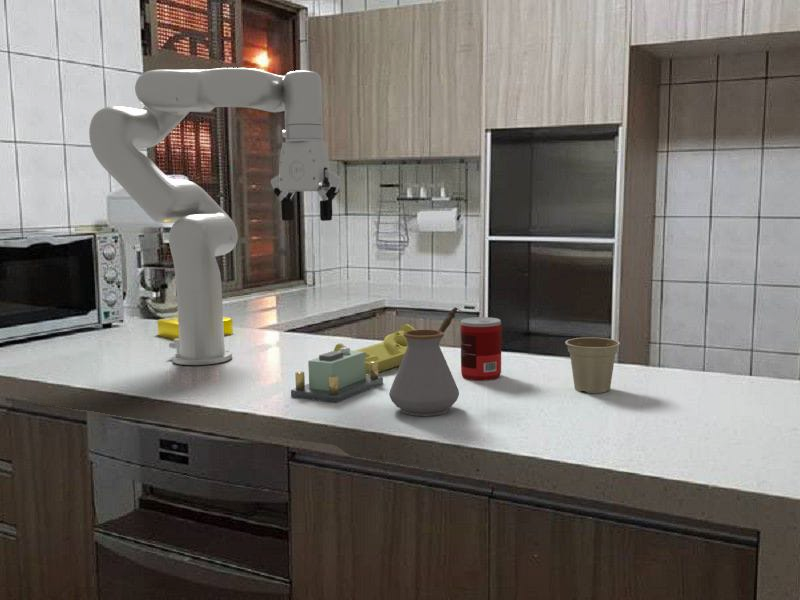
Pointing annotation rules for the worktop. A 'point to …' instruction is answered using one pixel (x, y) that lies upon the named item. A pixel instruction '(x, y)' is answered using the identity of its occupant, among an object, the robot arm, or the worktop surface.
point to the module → (337, 368)
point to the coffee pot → (425, 374)
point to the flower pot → (592, 363)
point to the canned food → (481, 348)
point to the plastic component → (385, 350)
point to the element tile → (171, 327)
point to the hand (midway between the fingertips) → (306, 220)
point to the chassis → (336, 386)
